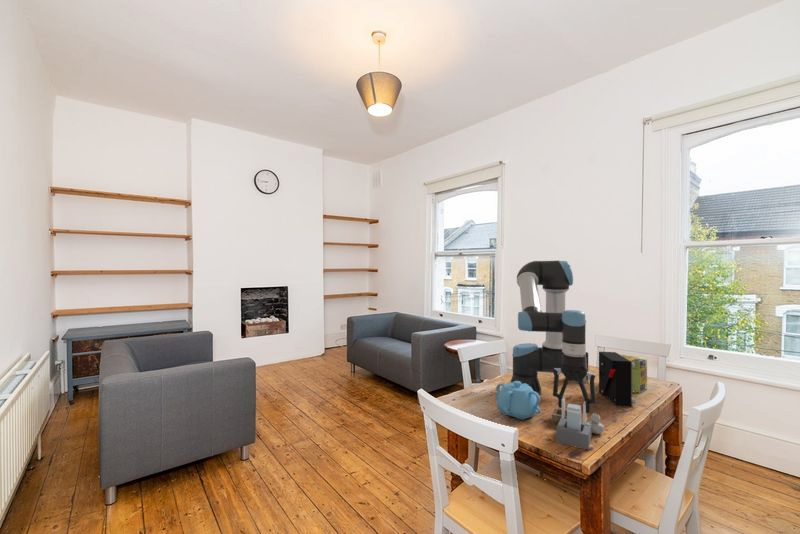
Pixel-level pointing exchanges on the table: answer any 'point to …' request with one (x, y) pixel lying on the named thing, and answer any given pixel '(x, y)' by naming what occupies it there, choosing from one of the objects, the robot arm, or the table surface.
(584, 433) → the port
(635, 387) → the protein box
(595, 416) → the rubber duck
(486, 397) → the table surface
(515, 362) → the robot arm
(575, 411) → the plug
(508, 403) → the decorative pot
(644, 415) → the table surface
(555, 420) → the holster
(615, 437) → the table surface
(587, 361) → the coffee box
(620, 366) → the electrical component
